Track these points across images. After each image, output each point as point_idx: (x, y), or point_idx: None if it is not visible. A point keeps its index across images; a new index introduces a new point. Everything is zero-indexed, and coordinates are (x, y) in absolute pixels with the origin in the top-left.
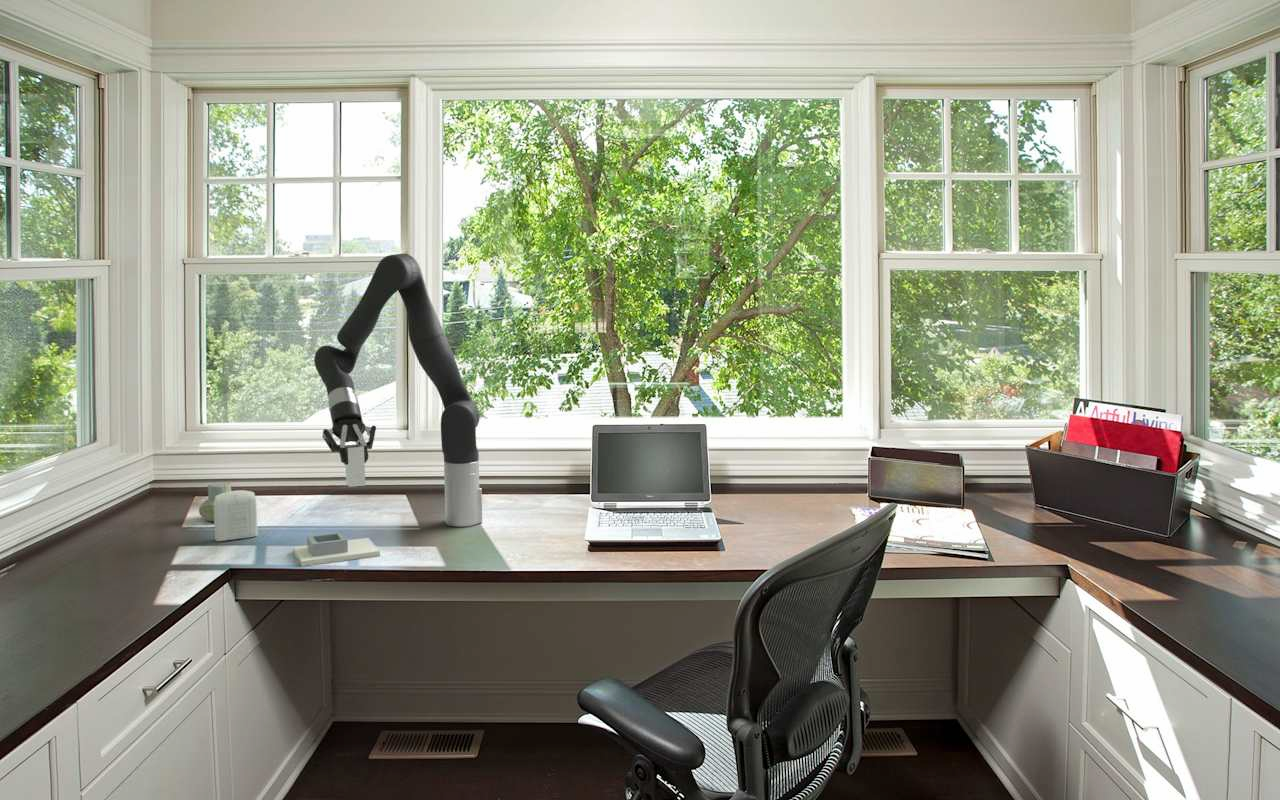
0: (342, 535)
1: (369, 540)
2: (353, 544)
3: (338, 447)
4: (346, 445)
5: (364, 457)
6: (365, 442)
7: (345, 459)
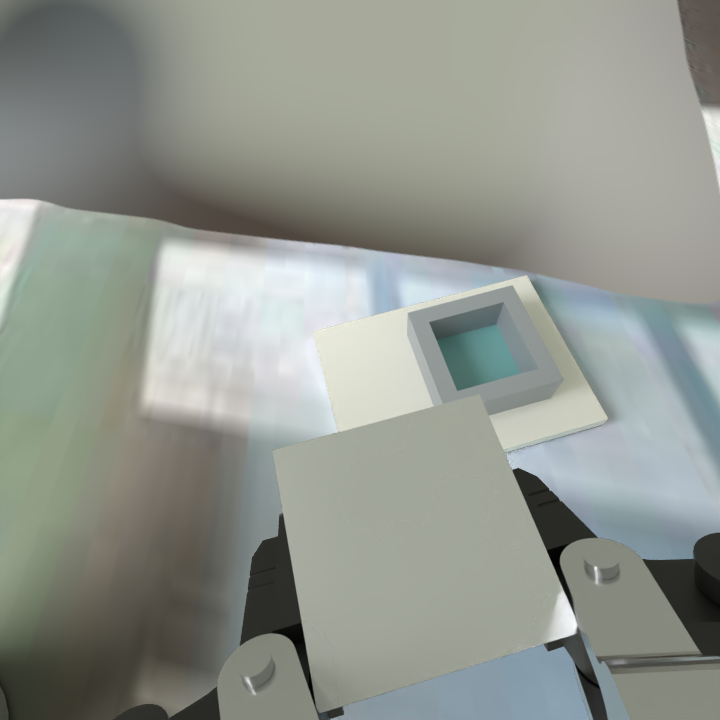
0: (432, 367)
1: None
2: (398, 413)
3: (657, 573)
4: (546, 612)
5: None
6: (225, 710)
7: None
